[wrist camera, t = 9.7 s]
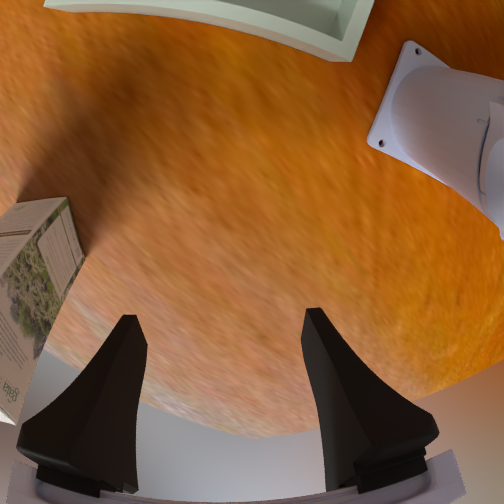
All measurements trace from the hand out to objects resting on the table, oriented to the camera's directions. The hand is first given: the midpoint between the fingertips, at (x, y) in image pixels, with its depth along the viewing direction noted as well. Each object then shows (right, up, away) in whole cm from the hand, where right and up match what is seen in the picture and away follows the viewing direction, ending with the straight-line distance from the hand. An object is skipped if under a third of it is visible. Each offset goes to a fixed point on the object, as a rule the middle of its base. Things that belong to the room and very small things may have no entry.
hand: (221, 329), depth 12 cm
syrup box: (-14, +5, +7) cm, 17 cm away
